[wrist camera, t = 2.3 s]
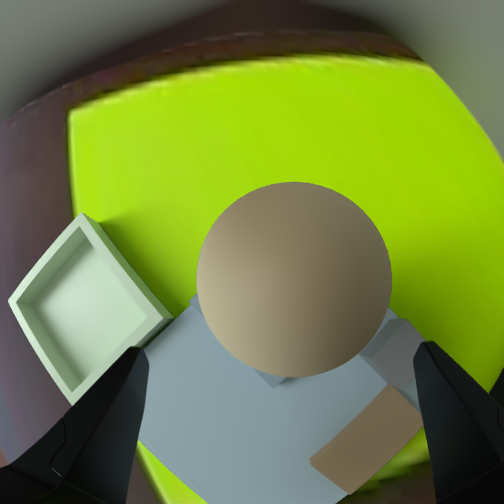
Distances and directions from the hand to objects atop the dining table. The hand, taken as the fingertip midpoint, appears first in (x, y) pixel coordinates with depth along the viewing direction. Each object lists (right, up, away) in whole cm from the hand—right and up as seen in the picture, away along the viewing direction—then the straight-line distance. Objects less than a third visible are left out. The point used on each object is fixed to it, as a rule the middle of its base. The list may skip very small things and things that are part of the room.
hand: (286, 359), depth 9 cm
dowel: (0, 0, +10) cm, 10 cm away
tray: (-13, -1, +11) cm, 17 cm away
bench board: (+1, -6, +10) cm, 11 cm away
